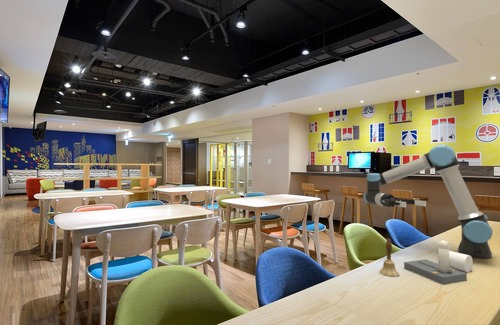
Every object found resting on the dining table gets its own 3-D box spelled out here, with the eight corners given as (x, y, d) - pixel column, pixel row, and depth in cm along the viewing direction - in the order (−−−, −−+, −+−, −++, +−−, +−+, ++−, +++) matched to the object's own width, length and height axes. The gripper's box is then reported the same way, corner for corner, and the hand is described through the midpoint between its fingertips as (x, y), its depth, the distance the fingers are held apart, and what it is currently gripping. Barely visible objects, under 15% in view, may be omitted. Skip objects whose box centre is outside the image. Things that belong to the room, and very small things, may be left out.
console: (425, 265, 143) (425, 259, 143) (466, 280, 124) (466, 273, 124) (404, 268, 139) (404, 261, 139) (442, 284, 120) (442, 277, 120)
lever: (443, 268, 130) (442, 238, 130) (453, 271, 126) (452, 241, 126) (434, 269, 128) (434, 239, 129) (444, 273, 124) (444, 242, 124)
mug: (464, 274, 132) (464, 256, 132) (441, 267, 141) (441, 251, 141) (477, 269, 138) (476, 253, 138) (454, 263, 147) (454, 247, 147)
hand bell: (375, 271, 135) (375, 237, 135) (388, 269, 138) (388, 236, 138) (390, 277, 127) (389, 242, 127) (403, 275, 130) (403, 240, 131)
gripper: (401, 205, 173) (433, 210, 153) (367, 207, 166) (396, 212, 145) (401, 193, 173) (433, 196, 153) (367, 194, 166) (396, 198, 145)
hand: (415, 204), depth 149 cm, fingers open, 13 cm apart
